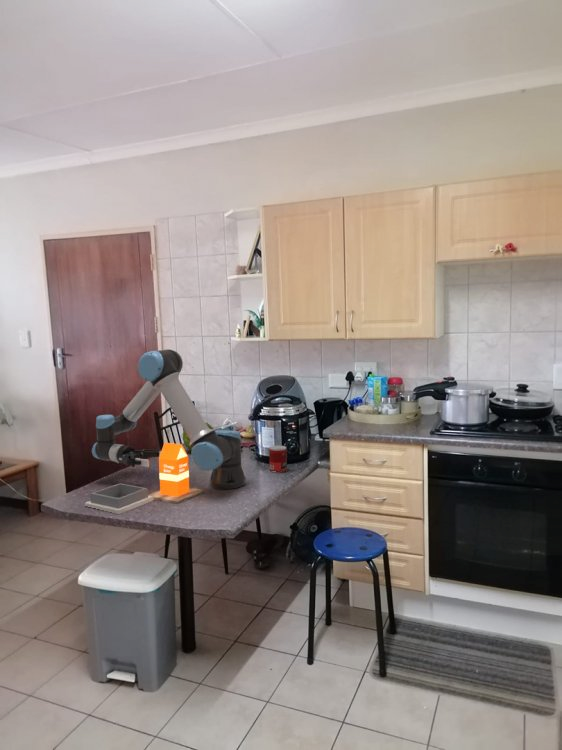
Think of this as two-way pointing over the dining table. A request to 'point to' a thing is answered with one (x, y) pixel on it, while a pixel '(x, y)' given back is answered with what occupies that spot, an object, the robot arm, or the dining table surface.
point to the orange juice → (173, 470)
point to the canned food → (278, 458)
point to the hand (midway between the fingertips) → (160, 459)
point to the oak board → (176, 499)
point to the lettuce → (187, 439)
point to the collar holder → (126, 502)
